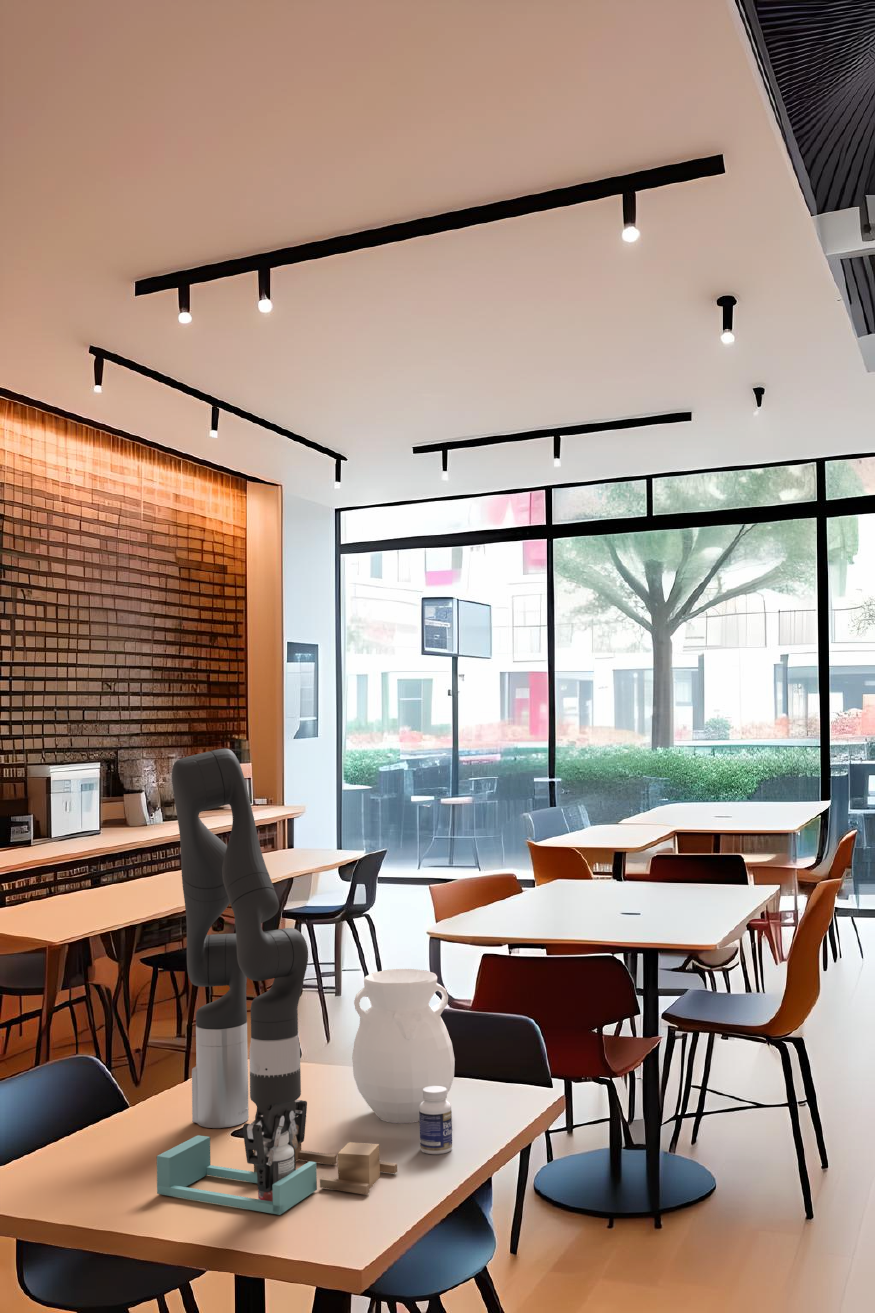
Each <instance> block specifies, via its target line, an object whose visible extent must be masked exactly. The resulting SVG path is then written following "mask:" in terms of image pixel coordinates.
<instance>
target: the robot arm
mask: <svg viewBox="0 0 875 1313" xmlns="http://www.w3.org/2000/svg"><path fill="white" fill-rule="evenodd" d="M244 775H245V774H244V773H243V768H242V766H241V763H240V761H239V759H238V758H237V756H236V754H235V753H234V751H232V750H231V749H229V748H218V749H215V750H214V749H213V750H211V751H210V750H209V751H206V752H202V753H197V754H192V755H189V756H185V757H183V758H179V759H178V760H176V761H175V762H174V763H173V765H172V768H171V785H172V794H173V799H174V806H175V810H176V817H177V824H178V832H179V840H180V842H179V843H180V861H181V862H180V863H181V867H180V868H181V869H180V871H181V880H182V881H181V884H182V891H183V900H184V906H185V907H184V908H185V910H184V911H185V916H186V917H185V918H186V968H187V976H188V979H189V981H190V983H191V984H192V985H193V986H196V987H201V988H204V987H205V988H206V987H208V988H209V987H225V986H229V988H228V991H227V992H225V994H223V995H222V996H221V997H219V998H217V999H215V1000H214V1001H212V1002H211V1001H210V1002H209V1003H207V1004H204V1005H202V1006H200V1007H199V1008H198V1009H197V1010H196V1013H195V1043H196V1044H195V1049H196V1050H195V1051H196V1052H195V1053H196V1057H195V1058H196V1062H195V1064H196V1065H195V1066H194V1067H192V1069H191V1109H192V1110H191V1114H192V1119H191V1121H192V1122H191V1123H195V1124H197V1125H199V1126H200V1127H203V1128H207V1129H208V1128H212V1129H221V1128H231V1127H235V1126H239V1125H241V1124H243V1126H242V1133H243V1142H244V1147H245V1148H244V1149H245V1157H246V1158H245V1159H246V1163H247V1164H248V1165H249V1164H250V1165H254V1164H255V1165H256V1166H257V1183H256V1184H257V1190H258V1189H259V1190H260V1191H263V1192H270V1191H271V1190H273V1188H272V1185H273V1165H272V1161H273V1156H274V1151H275V1149H277V1148H278V1145H279V1139H280V1135H281V1134H282V1133H284V1132H286V1131H288V1132H289V1142H288V1144H289V1145H290V1146H292V1148H293V1149H294V1171H295V1170H296V1169H297V1168H296V1163H297V1161H295V1151H296V1150H297V1149H298V1144H299V1142H301V1144H302V1143H303V1142H304V1141H305V1134H306V1122H307V1109H308V1101H307V1100H302V1099H299V1098H300V1097H301V1095H302V1089H301V1088H302V1083H301V1082H302V1079H301V1077H302V1076H301V1074H302V1073H301V1046H300V1045H301V1044H300V1040H299V1039H300V1038H299V1015H298V1010H299V1009H298V1008H299V1002H300V998H301V994H302V990H303V989H302V988H303V984H304V980H305V976H306V972H307V968H308V964H309V963H308V962H309V961H308V960H309V948H308V944H307V941H306V938H305V937H304V936H303V934H302V933H301V932H300V931H299V930H298V929H297V928H293V927H292V928H291V927H286V928H285V927H284V928H278V929H272V930H267V931H266V930H265V931H264V930H263V928H262V923H265V922H266V921H269V920H270V919H272V918H273V917H274V916H276V915H277V913H278V911H279V908H280V902H279V898H278V895H277V893H276V890H275V886H274V883H273V882H272V880H271V879H272V878H271V877H270V874H269V871H268V868H267V866H266V863H265V860H264V856H263V853H262V852H263V851H262V849H261V844H260V840H259V835H258V832H257V825H256V822H255V818H254V812H253V808H252V804H251V801H250V796H249V792H248V786H247V784H246V779H245V776H244ZM223 806H230V810H231V814H232V815H231V816H232V825H231V830H230V835H229V839H228V843H227V844H226V843H225V842H224V841H223V840H222V839H221V838H219V836H217V835H216V834H215V833H213V832H212V831H211V830H210V829H209V828H208V826H206V825H205V823H204V822H203V821H202V820H201V818H200V817H199V815H200V813H202V812H203V811H204V812H205V811H208V810H212V809H216V808H219V807H220V808H221V807H223ZM229 905H230V907H231V909H232V912H233V916H234V924H235V925H234V926H235V933H218V934H217V933H216V934H208V933H209V931H210V929H211V927H212V926H213V925H214V923H215V922H216V921H217V920H218V918H220V917H221V915H222V914H223V913H224V911H225V910H226V909H227V908H228V906H229ZM248 979H249V980H251V981H254V982H261V981H267V980H272V979H273V982H272V985H271V987H270V988H269V989H268V990H267V991H266V992H263V993H262V994H260V995H258V996H255V997H254V998H253V999H252V1001H251V1003H250V1044H249V1045H250V1046H249V1056H248V1014H247V1013H248V1012H247V1011H248V1008H247V980H248ZM248 1057H249V1058H248ZM248 1059H249V1061H248ZM248 1064H249V1065H248ZM248 1066H249V1067H248ZM249 1099H250V1100H251V1102H252V1103H253V1104H255V1106H256V1112H255V1115H254V1120H253V1121H252V1122H251V1123H245V1122H247V1121H249V1117H250V1116H249ZM296 1125H298V1126H299V1129H298V1132H297V1128H296ZM263 1137H264V1138H267V1139H272V1141H271V1142H264V1141H263ZM265 1147H267V1149H268V1150H267V1155H266V1156H265V1152H264V1148H265ZM254 1150H256V1153H255V1155H254Z"/></svg>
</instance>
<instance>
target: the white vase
mask: <svg viewBox="0 0 875 1313" xmlns="http://www.w3.org/2000/svg"><path fill="white" fill-rule="evenodd" d="M363 985H364V987H363V988H361V990H359V991H358V993H356V994H355V998H354V1000H353V1006H354V1009H355V1012H356V1013H357V1014H358V1017H359V1026H358V1028H357V1031H356V1034H355V1038H354V1040H353V1048H352V1057H351V1058H352V1059H351V1060H352V1072H353V1078H354V1081H355V1084H356V1087H357V1090H358V1092H359V1094H360V1095H361V1097H362V1098H363V1099H364V1101H365V1103H366V1104H367V1106H368V1107H369V1108H370V1109H371V1110H372V1112H373V1113H374V1114H375V1115H376V1116H377V1117H378V1119H379V1120H382V1121H383V1122H387V1123H393V1124H411V1123H412V1124H413V1123H415V1122H416V1123H417V1122H419V1106H420V1104H421V1103H422V1102H423V1101H424V1100H425V1099H423V1089H424V1088H425V1087H429V1086H442V1087H445V1088H446V1089H447V1095H448V1094H449V1092H450V1090H451V1088H452V1084H453V1081H454V1078H455V1061H456V1058H455V1054H454V1048H453V1042H452V1040H451V1038H450V1035H449V1031H448V1029H447V1026H446V1024H445V1022H444V1020H443V1018H442V1016H441V1015H442V1014H443V1011H444V1010H445V1009H446V1008H447V1006H448V1002H449V995H448V991H447V989H446V988H445V987H444V986H442V985H441V984H439V983H438V975H437V974H436V973H435V972H432V971H429V970H424V969H423V970H422V969H417V968H416V969H414V968H413V969H412V968H394V969H393V968H392V969H385V970H380V971H376V972H372V973H369V974H367V975H366V976H365V977H364V979H363ZM436 992H439V993H440V994H441V1000H440V1001H439V1002H438V1003H437V1004H435V1005H433V1006H432V1007H431V1005H430V1002H431V999H432V998H433V996H434V994H435V993H436ZM365 997H366V998H368V999H369V1002H370V1007H369V1008H368V1009H366V1010H364V1009H363V1008H362V1007H361V1005H360V1002H361V1000H362V998H365Z"/></svg>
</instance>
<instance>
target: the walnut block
mask: <svg viewBox="0 0 875 1313" xmlns="http://www.w3.org/2000/svg"><path fill="white" fill-rule="evenodd" d="M380 1157H381V1156H380V1143H365V1142H348V1143H346V1144H345V1146H343V1147H342V1148H341V1149H340V1150H339V1151H338V1153H337V1173H338V1174H337V1175H338V1177H337V1179H340V1180H347V1181H353V1182H360V1183H366V1184H369V1188H370V1189H371V1188H372V1187H373V1186H374V1185H375V1183H376V1182H377V1181H378V1180H379V1179H380V1177H381V1172H380V1161H381V1159H380Z"/></svg>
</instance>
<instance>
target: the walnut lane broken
mask: <svg viewBox="0 0 875 1313" xmlns="http://www.w3.org/2000/svg"><path fill="white" fill-rule="evenodd" d="M296 1128H297V1132H298V1129H299V1126H298V1125H296ZM253 1152H254V1155H255V1153H256V1150H253ZM297 1161H304V1162H309V1161H311V1162H316V1164H317V1163H318V1164H325V1165H330V1166H331V1165H332V1166H334V1165H336V1164H338V1154H332V1153H325V1152H324V1153H323V1152H317V1151H313V1150H312V1151H310V1150H304V1149H302V1143H301V1142H299V1144H298V1149H297V1150H296V1151H295V1162H297ZM253 1172H257V1166H256V1165H255V1164H253ZM380 1173H385V1174H386V1173H387V1174H396V1173H398V1163H395V1162H388V1161H382V1160H380ZM319 1188H322V1189H328V1190H334V1191H339V1192H340V1191H341V1192H347V1193H353V1194H359V1195H368V1194H369V1193H370V1189H371V1188H369V1184H366V1183H360V1182H353V1181H347V1180H340V1179H338V1178H333V1177H326V1176H322V1177H321V1178H320V1179H319Z"/></svg>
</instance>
